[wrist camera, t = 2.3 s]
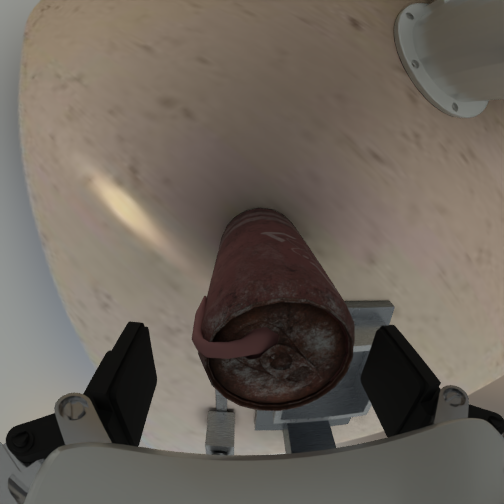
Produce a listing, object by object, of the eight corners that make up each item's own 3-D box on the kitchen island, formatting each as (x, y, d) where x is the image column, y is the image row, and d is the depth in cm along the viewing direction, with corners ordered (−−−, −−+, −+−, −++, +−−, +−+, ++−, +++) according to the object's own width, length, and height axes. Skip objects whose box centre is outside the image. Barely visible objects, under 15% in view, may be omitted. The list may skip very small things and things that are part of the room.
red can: (222, 202, 21) (187, 281, 8) (303, 212, 22) (386, 299, 8) (215, 275, 23) (187, 410, 10) (290, 282, 24) (335, 415, 10)
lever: (208, 411, 28) (203, 461, 21) (234, 412, 28) (233, 463, 22) (210, 429, 30) (206, 475, 23) (234, 430, 30) (233, 477, 23)
